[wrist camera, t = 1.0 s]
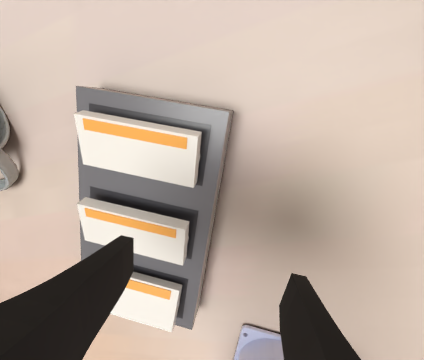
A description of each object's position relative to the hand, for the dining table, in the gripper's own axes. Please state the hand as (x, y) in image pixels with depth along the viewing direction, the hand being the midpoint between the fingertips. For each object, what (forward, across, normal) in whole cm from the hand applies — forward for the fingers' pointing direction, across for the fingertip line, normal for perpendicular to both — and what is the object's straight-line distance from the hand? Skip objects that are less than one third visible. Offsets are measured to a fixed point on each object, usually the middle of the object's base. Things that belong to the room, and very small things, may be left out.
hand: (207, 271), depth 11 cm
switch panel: (+12, +7, +5) cm, 14 cm away
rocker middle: (+8, +7, +5) cm, 11 cm away
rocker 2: (+7, +7, +12) cm, 15 cm away
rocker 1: (+8, +7, -2) cm, 11 cm away
